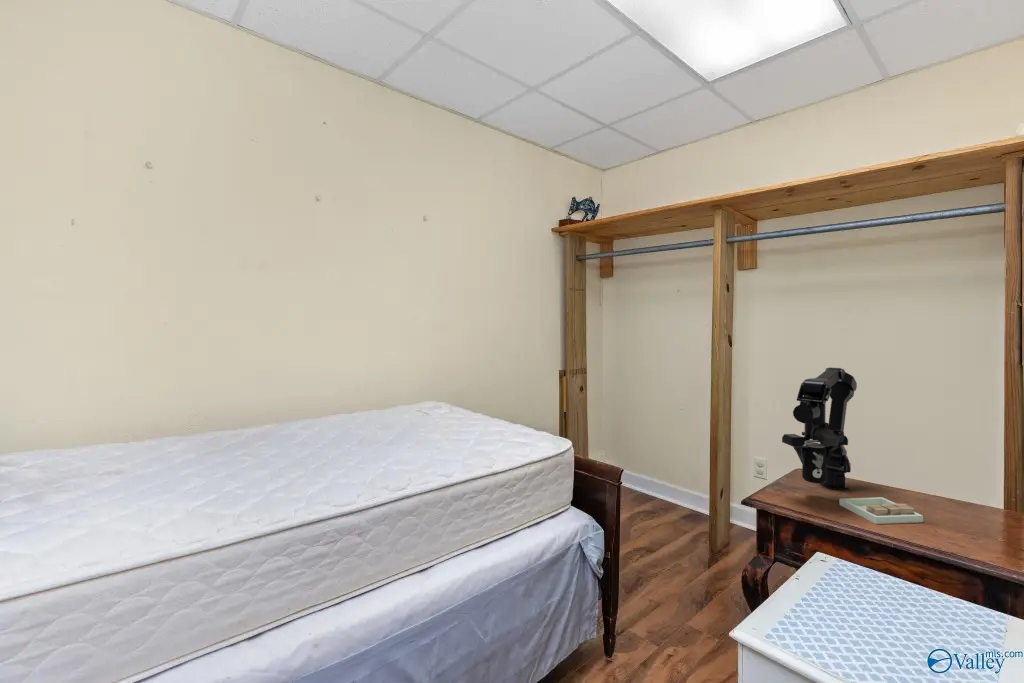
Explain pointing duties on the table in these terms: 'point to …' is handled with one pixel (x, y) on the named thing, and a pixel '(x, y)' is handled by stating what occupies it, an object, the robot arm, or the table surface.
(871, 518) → the tray
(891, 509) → the maple cube
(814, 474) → the beverage can
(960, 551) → the table surface
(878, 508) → the maple cube
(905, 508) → the maple cube
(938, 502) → the table surface
